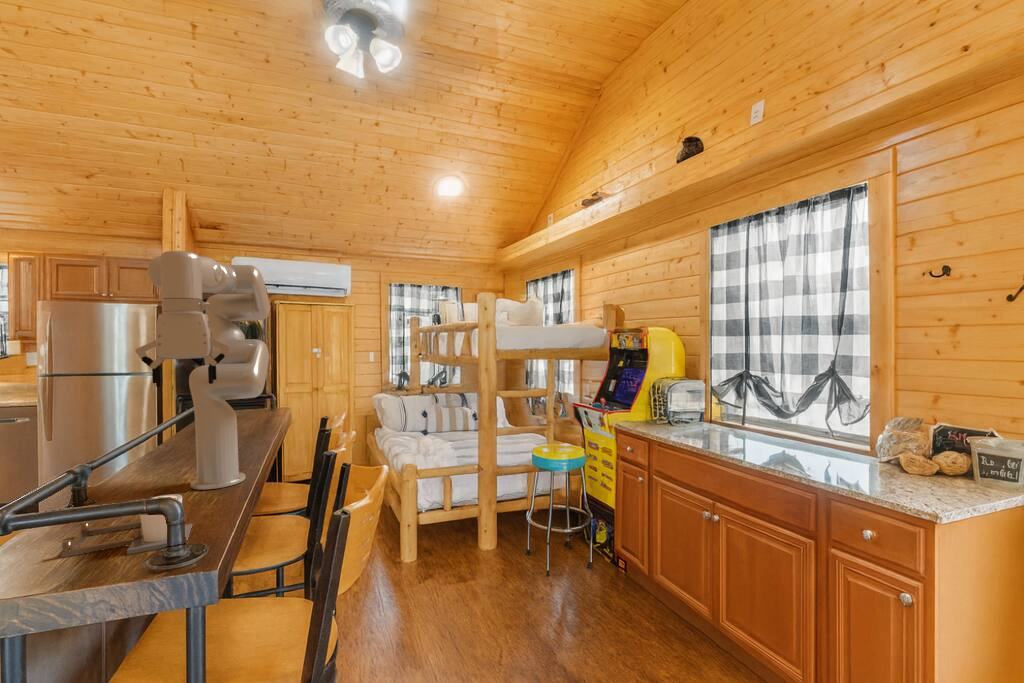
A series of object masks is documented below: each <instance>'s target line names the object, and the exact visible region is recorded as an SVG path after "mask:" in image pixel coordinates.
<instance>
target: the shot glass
mask: <svg viewBox="0 0 1024 683" xmlns="http://www.w3.org/2000/svg"><path fill="white" fill-rule="evenodd" d="M158 497H171V498H176V499H178V500H179V501H180V502H181V503H182V504H183V496H182V494H179V493H178V494H176V493H175V494H174V493H173V494H163V495H157V496H152V497H151V498H158ZM139 517H140V521H141V525H142V531H143V538H144V541H146V542H157V541H162V540H166V539H167V524H166V520H165V517H164V516H163V515H140V514H139Z"/></svg>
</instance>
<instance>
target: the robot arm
mask: <svg viewBox="0 0 1024 683" xmlns="http://www.w3.org/2000/svg"><path fill="white" fill-rule="evenodd" d="M147 275H148V278H149V281H150V282H151V284H152V285H154V286H155V287H156V288H157V289H160V290H161V291H160V292H161V313H159V314H158V315H157V320H156V322H157V323H156V329H155V340H153V341H150V342H148V343H146V344H144V345H141V346H140V347H138V348H136V349H135V353H136V354H137V356H138V357H139V358H140V360H141V361H142V363H144V364H145V365H146V366H148V367H150V369H151V372H152V373H151V374H152V384H155V386H156V388H160V387H162V386H163V369H162V367H161V365H162V364H163V363H164V362H165V361H166V360H184V359H185V360H187V359H202V358H203V359H204V365H201V366H197V367H196V368H194V369H193V370H192V371H191V373H190V374H189V378H188V385H189V386H188V387H189V390H190V395H191V398H192V402H193V411H194V427H195V428H194V429H195V430H194V431H195V452H196V455H195V456H196V478H195V479H193V480H191V481H190V488H192V489H194V490H200V491H201V490H216V489H222V488H226V487H227V488H228V487H231V486H233V485H236V484H237V485H238V484H240V483H242V482H243V481H245V479H246V474H245V473H243V472H241V471H239V470H240V469H239V446H238V445H239V444H238V443H239V442H238V422H237V418H238V417H237V414H236V411H235V410H234V409H233V407H232V406H231V405H230V404H229V403H228V402H227V401H228V400H229V401H230V400H240V399H242V400H243V399H254V398H257V397H259V396H261V395H262V393H263V391H264V388H265V385H266V378H267V374H268V368H269V361H270V352H269V348H268V346H267V344H266V343H265V342H264V341H263V340H261V339H255V338H253V339H249V338H248V339H246V336H245V334H244V332H243V331H242V330H241V329H240V328H239V327H238V326H237V324H235V323H233V322H243V321H244V322H248V321H249V322H250V321H252V322H258V321H263V320H266V319H267V318H268V317H269V315H270V311H271V305H270V301H269V296H268V292H267V287H266V285H265V281H264V277H263V276H262V273H261V271H260V270H259V268H258V267H256V266H254V265H251V264H223V263H221V262H219V261H216V260H215V259H213V258H212V257H209V256H202V255H201V256H200V255H199V254H197V253H195V252H192V251H186V250H185V251H184V250H167V251H164V252H162V253H161V254H160V255H158V256H154V257H153V258H152V259H151V260H150V261H149V263H148V266H147ZM203 293H204V294H206V293H208V294H214V295H211V296H209V297H208V298H207V299H206V301H204V300H203ZM204 311H205V313H204ZM154 348H155V356H156V358H155V359H154V360H153V359H152V358H151V357H149V355H148V354H147V351H149V350H151V349H154Z"/></svg>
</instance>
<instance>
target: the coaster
mask: <svg viewBox="0 0 1024 683" xmlns="http://www.w3.org/2000/svg"><path fill="white" fill-rule="evenodd" d="M193 524H194V523H188V524H184V525H185V537H186V541H187V540H188V537H189V534H190V531H191V528H192V526H194V525H193ZM192 529H193V528H192ZM191 532H192V531H191ZM190 535H191V534H190ZM189 538H190V537H189ZM188 541H189V540H188ZM166 546H167V539H166V540H162V541H157V542H146V541H144V538H143V537H142V538H141V539H140V540H134V541H132V543H131V545H130V546H129V547H128V548H127V549H126V555H128V556H129V555H132V554H140V553H144V552H150V551H155V550H160V549H166V548H165V547H166Z"/></svg>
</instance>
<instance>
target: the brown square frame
mask: <svg viewBox="0 0 1024 683" xmlns="http://www.w3.org/2000/svg"><path fill="white" fill-rule="evenodd" d="M136 527H139V528H136ZM131 528H133V529H134V530H132V529H131ZM123 529H127V530H132V533H133V534H132V535H133V537H129V538H124V539H123V538H122V539H118V540H111V541H105V542H101V543H100V542H99V543H94V544H89V545H84V546H81V545H82V544H83V543H84V541H85V540H86V539H87V538H88V537H89V536H90V535H91V536H94V535H93V534H97V535H100V534H99V533H103V534H106V533H105V532H109V533H112V532H111V531H115V532H118V531H117V530H121V531H124V530H123ZM91 536H90V537H91ZM142 537H143V531H142V525H141V520H138V521H131V522H124V523H123V522H122V523H117V524H112V525H106V526H100V527H99V526H98V527H93V528H90V522H89V521H84V522H81V523H80V531H79V533H78V534H77V535H76V536H75V537H74V538H73V539H72V540H65V541H63V542H61V543H62V544H61V546H62V550H61V558H63V557H64V558H68V557H73V556H74V557H75V556H80V555H85V554H84V553H86V554H90V553H89V552H91V553H93V552H92V551H97V550H101V549H108V550H110V549H109V548H113V549H116V548H115V547H119V548H122V547H121V546H125V547H127V546H126V545H131V543H132V541H134V540H140V539H141V538H142ZM82 542H83V543H82ZM81 543H82V544H81ZM97 552H98V551H97ZM79 554H80V555H79Z"/></svg>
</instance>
